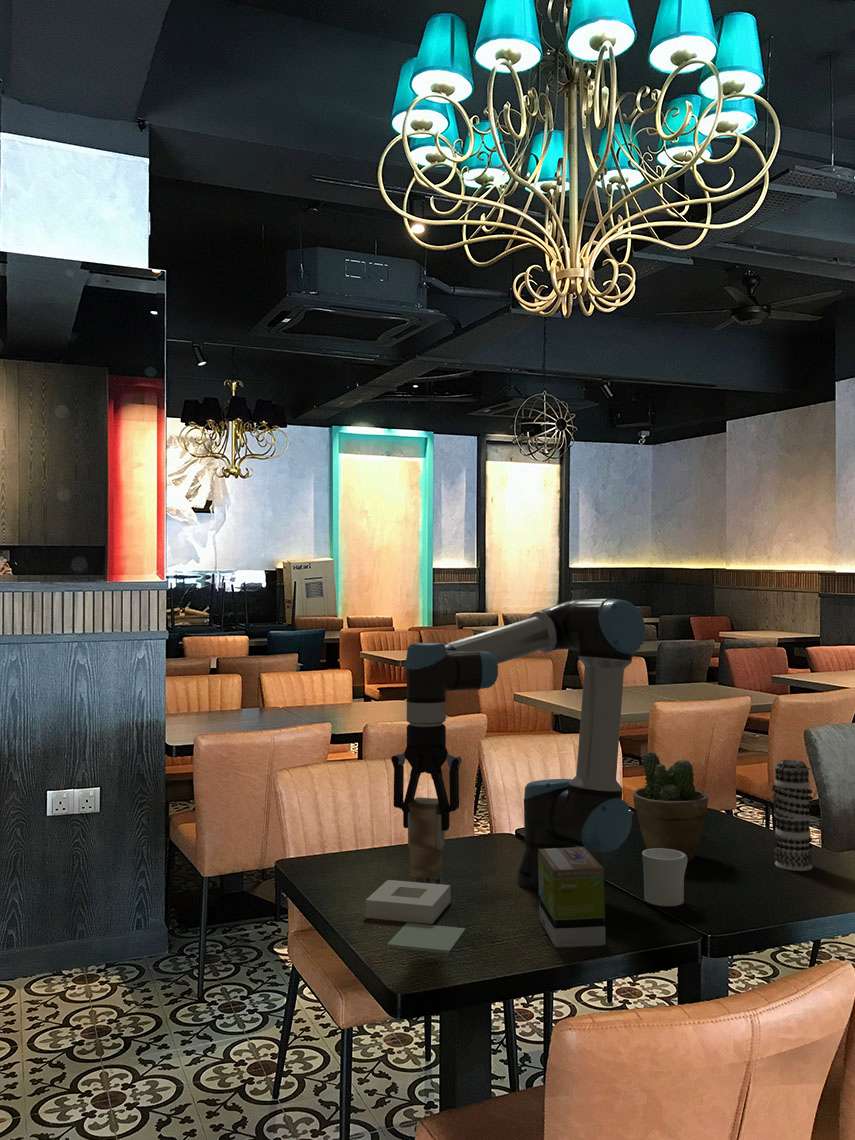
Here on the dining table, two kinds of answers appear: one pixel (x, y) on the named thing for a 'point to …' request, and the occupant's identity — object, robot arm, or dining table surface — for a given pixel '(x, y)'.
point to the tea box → (571, 897)
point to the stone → (429, 880)
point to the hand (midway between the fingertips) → (426, 846)
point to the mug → (664, 877)
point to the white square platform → (408, 901)
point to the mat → (426, 938)
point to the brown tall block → (424, 838)
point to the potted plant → (670, 806)
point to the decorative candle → (792, 816)
